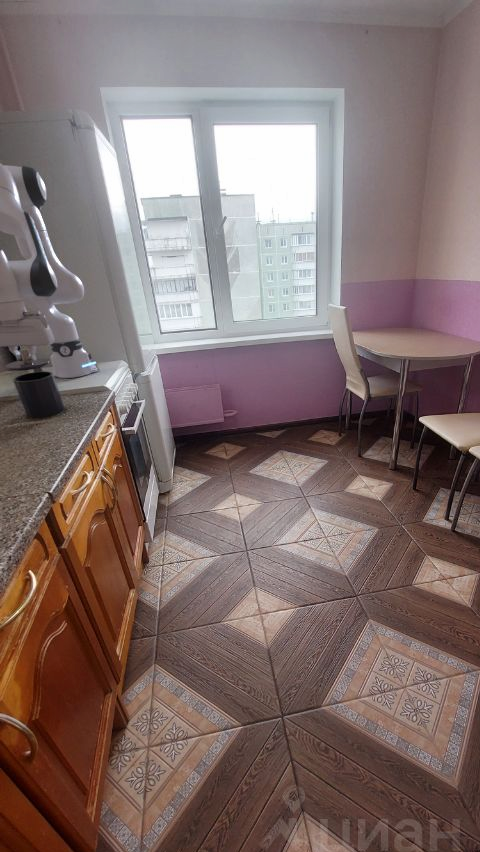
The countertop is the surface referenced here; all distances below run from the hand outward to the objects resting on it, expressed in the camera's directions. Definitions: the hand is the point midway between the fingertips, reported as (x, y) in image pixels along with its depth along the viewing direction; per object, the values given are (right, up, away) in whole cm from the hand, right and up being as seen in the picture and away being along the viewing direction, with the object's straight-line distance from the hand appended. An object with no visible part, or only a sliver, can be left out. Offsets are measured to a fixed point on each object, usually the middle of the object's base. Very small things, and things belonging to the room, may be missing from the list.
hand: (27, 360), depth 118 cm
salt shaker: (-12, -3, +30) cm, 33 cm away
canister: (+1, -15, +9) cm, 17 cm away
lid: (0, -1, +1) cm, 1 cm away
